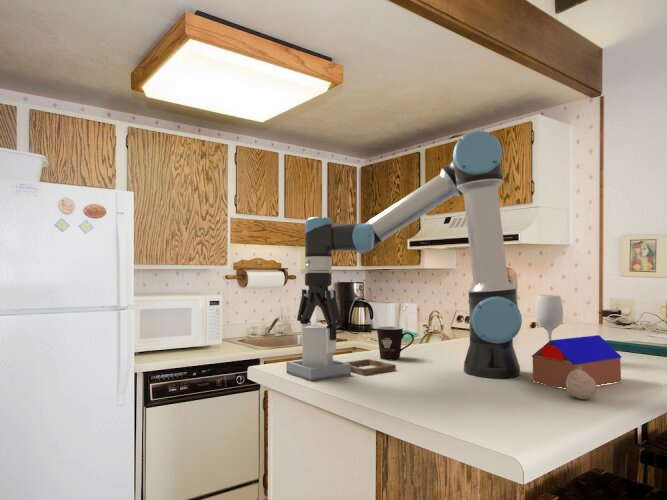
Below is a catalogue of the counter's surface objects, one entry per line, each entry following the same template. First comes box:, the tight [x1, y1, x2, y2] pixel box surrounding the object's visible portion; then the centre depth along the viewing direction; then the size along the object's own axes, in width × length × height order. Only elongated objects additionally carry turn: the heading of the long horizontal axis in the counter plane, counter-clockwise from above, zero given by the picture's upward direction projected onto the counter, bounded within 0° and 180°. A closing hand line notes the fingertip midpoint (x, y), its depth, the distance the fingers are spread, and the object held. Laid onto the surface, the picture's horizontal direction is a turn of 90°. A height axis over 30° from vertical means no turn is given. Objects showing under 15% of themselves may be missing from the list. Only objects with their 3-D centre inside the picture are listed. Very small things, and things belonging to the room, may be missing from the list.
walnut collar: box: [344, 358, 397, 376], centre depth 138 cm, size 12×12×2 cm
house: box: [530, 334, 623, 389], centre depth 122 cm, size 12×20×12 cm, turn 119°
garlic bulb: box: [565, 365, 597, 400], centre depth 106 cm, size 7×6×8 cm
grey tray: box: [285, 359, 352, 382], centre depth 132 cm, size 13×13×3 cm
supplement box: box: [301, 324, 334, 368], centre depth 132 cm, size 7×7×13 cm
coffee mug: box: [376, 325, 415, 361], centre depth 155 cm, size 12×9×10 cm
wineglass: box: [534, 294, 564, 343], centre depth 151 cm, size 9×9×21 cm
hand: (318, 349), depth 132 cm, fingers open, 12 cm apart
